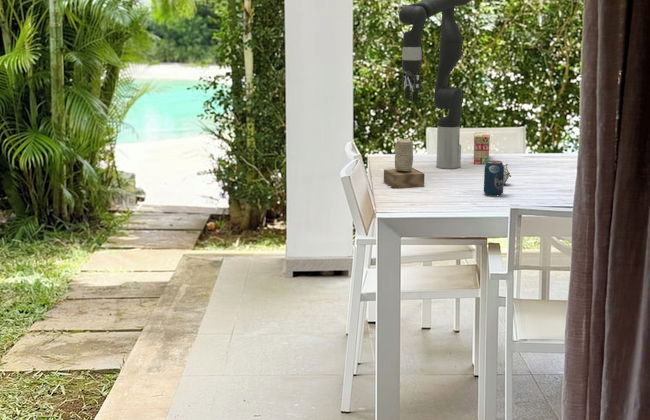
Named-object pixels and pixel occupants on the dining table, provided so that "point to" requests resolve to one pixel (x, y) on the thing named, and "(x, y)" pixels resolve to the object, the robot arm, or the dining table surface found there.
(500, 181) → the soda can
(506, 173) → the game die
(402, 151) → the carving
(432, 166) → the dining table surface
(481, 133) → the cardboard product box
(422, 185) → the walnut block
